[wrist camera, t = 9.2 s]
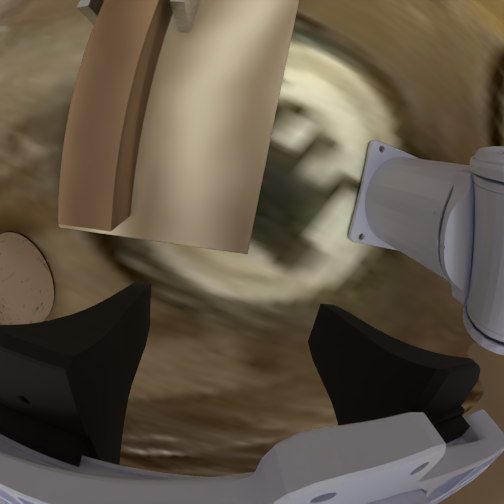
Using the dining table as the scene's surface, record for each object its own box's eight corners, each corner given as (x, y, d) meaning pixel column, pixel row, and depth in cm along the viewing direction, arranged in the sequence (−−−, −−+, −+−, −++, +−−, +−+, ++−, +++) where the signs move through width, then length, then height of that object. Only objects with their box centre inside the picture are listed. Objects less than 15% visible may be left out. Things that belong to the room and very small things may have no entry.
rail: (181, -11, 13) (177, -41, 9) (130, 216, 18) (110, 231, 14) (136, -11, 12) (123, -38, 8) (85, 210, 17) (58, 224, 13)
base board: (303, -30, 13) (306, -36, 13) (245, 249, 21) (247, 254, 20) (136, -47, 11) (134, -53, 10) (65, 223, 18) (59, 227, 17)
